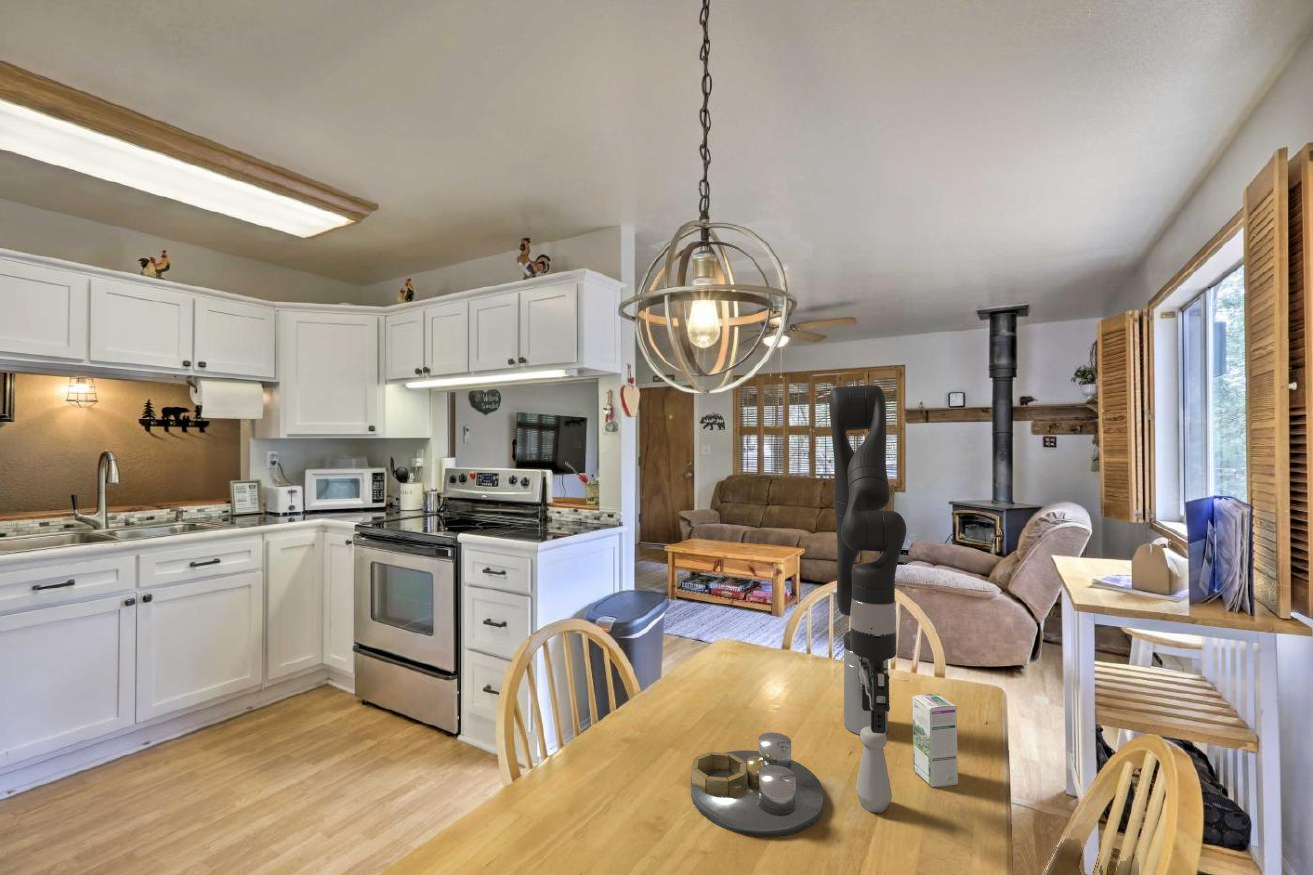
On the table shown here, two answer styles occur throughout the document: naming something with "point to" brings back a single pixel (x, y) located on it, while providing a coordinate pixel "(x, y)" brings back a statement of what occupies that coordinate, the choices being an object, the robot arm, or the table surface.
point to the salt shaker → (873, 773)
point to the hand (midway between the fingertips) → (873, 720)
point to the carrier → (757, 789)
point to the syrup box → (935, 740)
